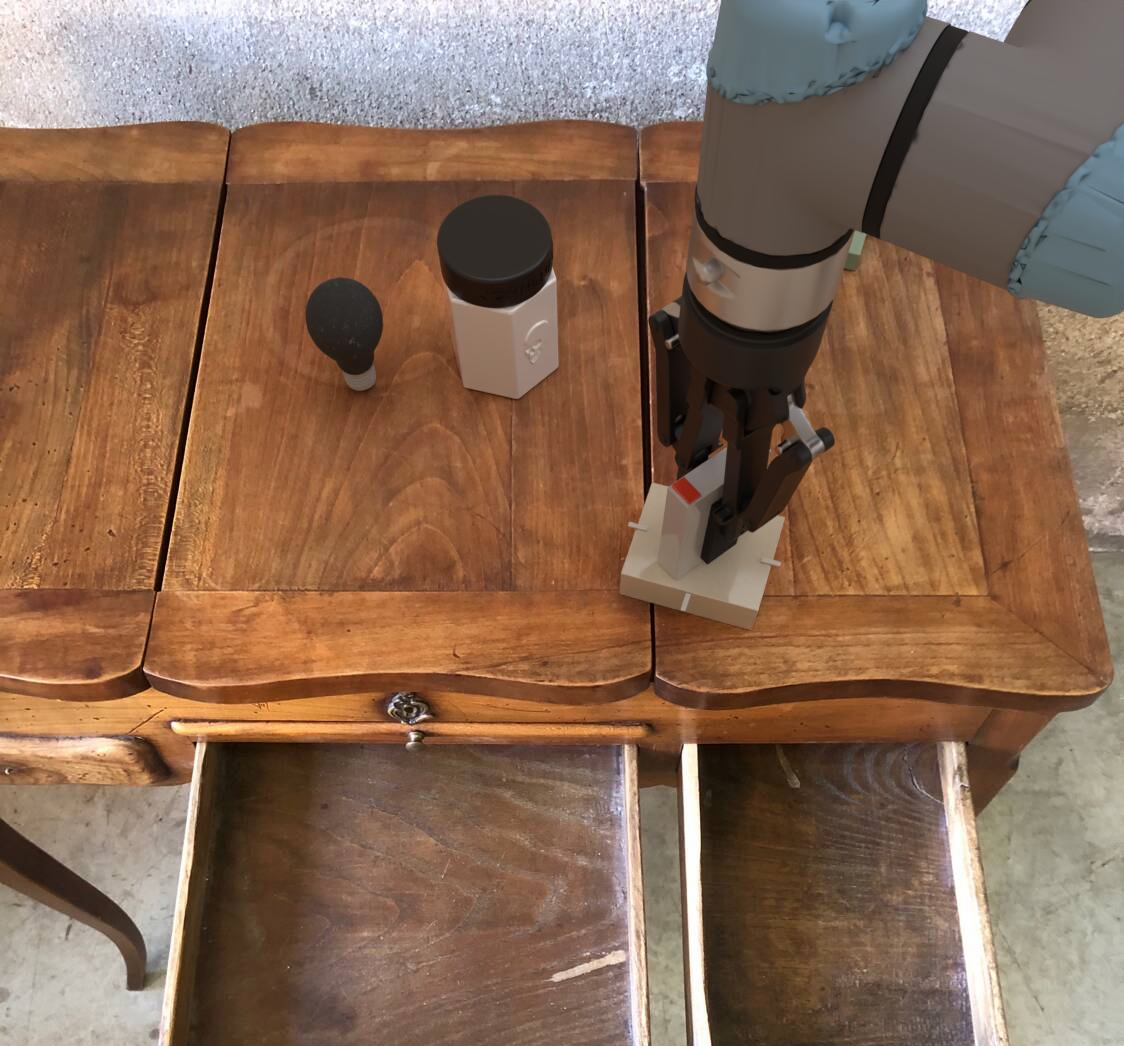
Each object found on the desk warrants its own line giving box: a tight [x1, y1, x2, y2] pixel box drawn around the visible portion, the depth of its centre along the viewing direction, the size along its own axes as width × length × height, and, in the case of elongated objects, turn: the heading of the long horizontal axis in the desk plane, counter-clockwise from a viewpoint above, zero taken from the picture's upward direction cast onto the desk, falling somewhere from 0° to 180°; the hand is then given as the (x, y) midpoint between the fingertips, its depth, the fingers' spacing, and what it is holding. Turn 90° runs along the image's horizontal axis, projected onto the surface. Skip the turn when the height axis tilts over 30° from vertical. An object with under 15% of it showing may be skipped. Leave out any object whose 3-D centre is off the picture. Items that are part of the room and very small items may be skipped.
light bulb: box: [304, 276, 384, 391], centre depth 79 cm, size 6×6×10 cm
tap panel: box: [618, 482, 786, 631], centre depth 76 cm, size 11×11×3 cm
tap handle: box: [658, 446, 772, 580], centre depth 70 cm, size 7×2×9 cm, turn 128°
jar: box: [436, 194, 560, 400], centre depth 79 cm, size 9×8×12 cm
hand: (705, 537), depth 74 cm, fingers closed on tap handle, 2 cm apart
